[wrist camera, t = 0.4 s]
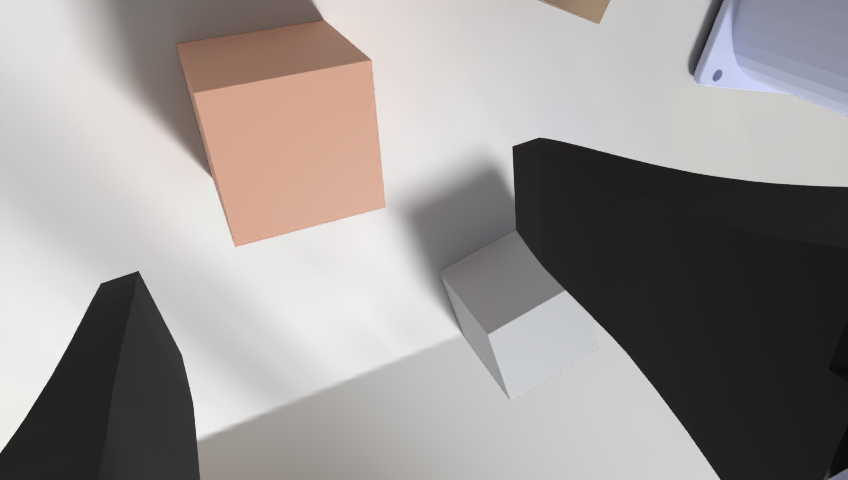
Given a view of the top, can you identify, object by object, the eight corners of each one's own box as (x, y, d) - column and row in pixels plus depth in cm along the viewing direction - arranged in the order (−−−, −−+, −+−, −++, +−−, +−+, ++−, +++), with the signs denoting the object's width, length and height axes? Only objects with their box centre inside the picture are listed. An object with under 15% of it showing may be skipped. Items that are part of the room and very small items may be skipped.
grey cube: (525, 222, 28) (586, 278, 24) (542, 290, 31) (598, 349, 27) (438, 270, 27) (487, 334, 24) (463, 335, 30) (510, 401, 26)
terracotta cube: (323, 19, 20) (371, 59, 16) (341, 148, 22) (385, 207, 19) (175, 43, 18) (193, 93, 15) (212, 177, 21) (235, 247, 17)
